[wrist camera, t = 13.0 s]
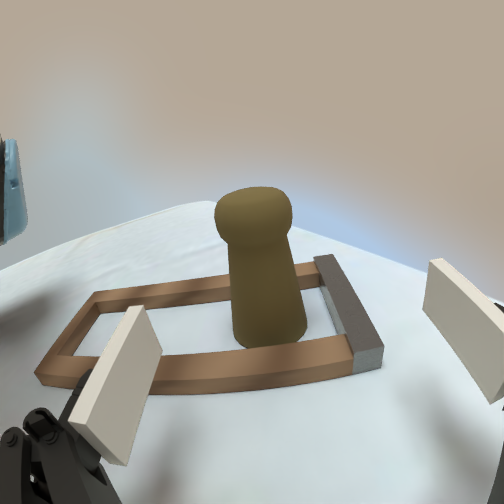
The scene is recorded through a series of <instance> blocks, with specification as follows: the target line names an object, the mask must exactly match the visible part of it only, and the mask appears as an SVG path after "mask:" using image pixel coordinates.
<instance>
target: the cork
mask: <svg viewBox="0 0 504 504" xmlns="http://www.w3.org/2000/svg"><path fill="white" fill-rule="evenodd" d="M214 218H215V223H216V228H217V231H218V233H219V235H220V237H221V238H222V239H223V240H224V241H225V242H226V243H227V244H228V260H229V277H230V293H231V308H232V322H233V332H234V337H235V339H236V340H237V341H238V342H239V343H240V344H241V345H243V346H245V347H247V348H248V349H250V348H259V347H267V346H274V345H281V344H288V343H295V342H297V341H298V340H299V339H300V338H301V337H302V336H303V335H304V333H305V331H306V329H307V318H306V314H305V309H304V305H303V300H302V296H301V292H300V288H299V283H298V279H297V275H296V271H295V267H294V262H293V258H292V254H291V250H290V246H289V242H288V238H287V233H288V231H289V230H290V228H291V224H292V206H291V203H290V201H289V198H288V197H287V196H286V194H285V193H284V192H283V191H281V190H279V189H277V188H273V187H250V188H244V189H240V190H237V191H234V192H232V193H229V194H227V195H225V196H223V197H222V198H221V199H220V200H219V201H218V202H217V205H216V208H215V214H214Z"/></svg>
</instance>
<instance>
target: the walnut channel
mask: <svg viewBox="0 0 504 504" xmlns="http://www.w3.org/2000/svg"><path fill="white" fill-rule="evenodd" d="M294 267H295V271H296V275H297V279H298V283H299V288H300V290H302V289H308V288H314V287H320V285H319V272H318V270H317V268H316V266H315V263H314V261H313V262H307V263H300V264H294ZM225 300H231V293H230V277H229V274H226V275H219V276H212V277H205V278H197V279H190V280H183V281H175V282H168V283H160V284H152V285H145V286H137V287H129V288H121V289H113V290H104V291H96V292H94V293H93V294H92V295H91V296H90V298H89V299H88V300H87V301H86V303H85V304H84V305H83V306H82V308H81V309H80V310H79V311H78V313H77V314H76V315H75V316H74V318H73V319H72V320H71V322H70V323H69V324H68V326H67V327H66V328H65V329H64V331H63V332H62V333H61V335H60V336H59V337H58V339H57V340H56V342H55V343H54V344H53V346H52V347H51V348H50V350H49V351H48V353H47V354H46V355H45V357H44V358H43V360H42V361H41V362H40V364H39V365H38V367H37V368H36V370H35V371H34V374H35V375H36V376H37V378H38V379H39V381H40V382H41V383H42V385H47V386H54V387H61V388H68V389H75V388H76V385H77V383H78V381H79V379H80V377H81V376H82V375H83V374H84V373H85V372H86V371H87V370H88V369H94V367H95V365H96V364H97V362H98V360H99V358H100V357H90V356H72V355H73V353H74V352H75V350H76V349H77V347H78V346H79V344H80V343H81V341H82V340H83V338H84V337H85V335H86V334H87V332H88V331H89V329H90V328H91V326H92V325H93V323H94V322H95V320H96V319H97V318H98V316H99V315H100V313H111V312H123V311H127V309H128V308H129V307H130V306H139V305H144V308H145V309H155V308H165V307H174V306H183V305H192V304H201V303H209V302H217V301H225ZM353 361H354V358H353V356H352V353H351V350H350V348H349V345H348V343H347V340H346V338H345V335H344V334H341V335H335V336H330V337H325V338H319V339H313V340H307V341H301V342H295V343H288V344H281V345H274V346H267V347H259V348H250V349H242V350H232V351H222V352H211V353H198V354H184V355H165V356H161V357H160V360H159V363H158V366H157V369H156V372H155V375H154V378H153V381H152V384H151V387H150V390H149V393H148V394H150V395H184V394H212V393H228V392H240V391H251V390H261V389H270V388H278V387H285V386H292V385H299V384H305V383H311V382H317V381H323V380H328V379H333V378H338V377H343V376H348V375H352V372H353Z"/></svg>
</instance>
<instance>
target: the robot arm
mask: <svg viewBox="0 0 504 504" xmlns="http://www.w3.org/2000/svg"><path fill="white" fill-rule="evenodd" d="M27 222H28V216H27V209H26V202H25V195H24V189H23V182H22V175H21V168H20V161H19V153H18V147H17V143H16V140H14V139H10V140H9V139H6V140H5V141H4V142H3V141H2V138H1V135H0V246H1V245H4V244H6V243H7V241H9V240H11V239H13V238H14V237H16V236H18V235H19V234H21V233H22V232H23V231H24V230H25V228H26V226H27ZM422 310H423V311H424V312H425V313H426V315H427V316H428V317H429V319H430V320H431V321H432V322H433V324H434V325H435V326H436V328H437V329H438V330H439V331H440V333H441V334H442V335H443V337H444V338H445V339H446V341H447V342H448V344H449V345H450V346H451V348H452V349H453V350H454V352H455V353H456V355H457V356H458V357H459V359H460V360H461V362H462V363H463V364H464V366H465V367H466V369H467V370H468V372H469V373H470V375H471V376H472V378H473V379H474V381H475V382H476V384H477V385H478V387H479V388H480V390H481V391H482V393H483V394H484V396H485V397H486V399H487V401H488V402H489V404H492V403H494V402H496V401H497V400H499V399H501V398H502V397H504V307H503V306H501V305H499V304H497V303H492V302H491V301H490V300H489V299H488V298H487V297H486V296H485V295H484V294H483V293H482V292H481V291H480V290H478V289H477V288H476V287H475V286H474V285H473V284H472V283H471V282H470V281H468V280H467V279H466V278H465V277H464V276H463V275H462V274H460V273H459V272H458V271H457V270H456V269H455V268H453V267H452V266H451V265H450V264H449V263H447V262H446V261H445V260H444V259H443V258H438V259H434V260H430V261H429V267H428V275H427V283H426V290H425V297H424V303H423V309H422ZM162 351H163V350H162V348H161V346H160V344H159V341H158V339H157V337H156V334H155V332H154V330H153V327H152V325H151V323H150V320H149V318H148V315H147V313H146V310H145V308H144V305H139V306H130V307H129V308H128V309H127V311H126V313H125V314H124V316H123V318H122V319H121V321H120V323H119V324H118V326H117V328H116V330H115V331H114V333H113V335H112V337H111V338H110V340H109V342H108V344H107V345H106V347H105V349H104V351H103V353H102V354H101V356H100V358H99V360H98V362H97V364H96V365H95V367H94V369H88V370H87V371H86V372H85V373H84V374H83V375H82V376H81V377H80V379H79V381H78V383H77V385H76V388H75V389H74V390H73V392H72V396H70V398H69V400H68V402H67V404H66V406H65V408H64V410H63V412H62V414H61V416H60V418H59V420H57V419H56V418H55V417H54V416H53V415H52V413H51V412H50V411H49V410H47V409H46V408H37V409H34V410H32V411H31V412H30V413H29V414H28V415H27V416H26V417H25V419H24V422H23V429H24V430H25V431H26V432H27V433H28V434H29V435H26V434H25V433H24V432H23V431H22V430H21V429H19V428H18V427H12V428H9V429H8V430H6V431H5V432H4V434H3V435H2V437H1V441H0V504H122V502H121V501H120V499H119V497H118V495H117V493H116V492H115V490H114V488H113V486H112V484H111V482H110V480H109V478H108V476H107V474H106V472H105V470H104V468H103V466H102V465H101V464H100V463H99V461H100V458H101V456H102V457H103V458H104V459H105V460H106V461H107V462H108V463H110V464H115V465H121V466H127V464H128V460H129V457H130V453H131V449H132V446H133V442H134V439H135V436H136V432H137V429H138V426H139V422H140V419H141V416H142V412H143V409H144V406H145V403H146V400H147V396H148V393H149V390H150V387H151V384H152V381H153V378H154V375H155V372H156V369H157V366H158V363H159V360H160V357H161V354H162ZM502 410H503V411H504V406H503V409H502ZM30 474H31V475H32V476H33V477H34V482H32V481H30ZM487 504H504V443H503V448H502V453H501V457H500V462H499V466H498V470H497V474H496V477H495V481H494V484H493V488H492V491H491V494H490V497H489V500H488V503H487Z"/></svg>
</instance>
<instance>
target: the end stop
mask: <svg viewBox="0 0 504 504" xmlns="http://www.w3.org/2000/svg"><path fill="white" fill-rule="evenodd" d="M313 259H314V263H315V266H316V268H317V270H318V272H319V285H320V289H321V292H322V294H323V297H324V299H325V302H326V304H327V307H328V310H329V312H330V315H331V317H332V320H333V323H334V325H335V328H336V331H337V333H338V335H341V334H344V335H345V338H346V340H347V343H348V345H349V348H350V350H351V353H352V356H353V358H354V361H353V372H352V375H353V374H357V373H362V372H366V371H370V370H374V369H378V368H381V364H382V358H383V352H384V344H383V342H382V341H381V339H380V337H379V335H378V333H377V331H376V329H375V327H374V325H373V324H372V322H371V320H370V318H369V316H368V314H367V313H366V311H365V309H364V307H363V305H362V304H361V302H360V300H359V298H358V296H357V295H356V293H355V291H354V289H353V288H352V286H351V284H350V282H349V281H348V279H347V277H346V276H345V274H344V272H343V270H342V269H341V267H340V265H339V264H338V262H337V260H336V259H335V257H334V255H333V254H329V255H322V256H316V257H313Z"/></svg>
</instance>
